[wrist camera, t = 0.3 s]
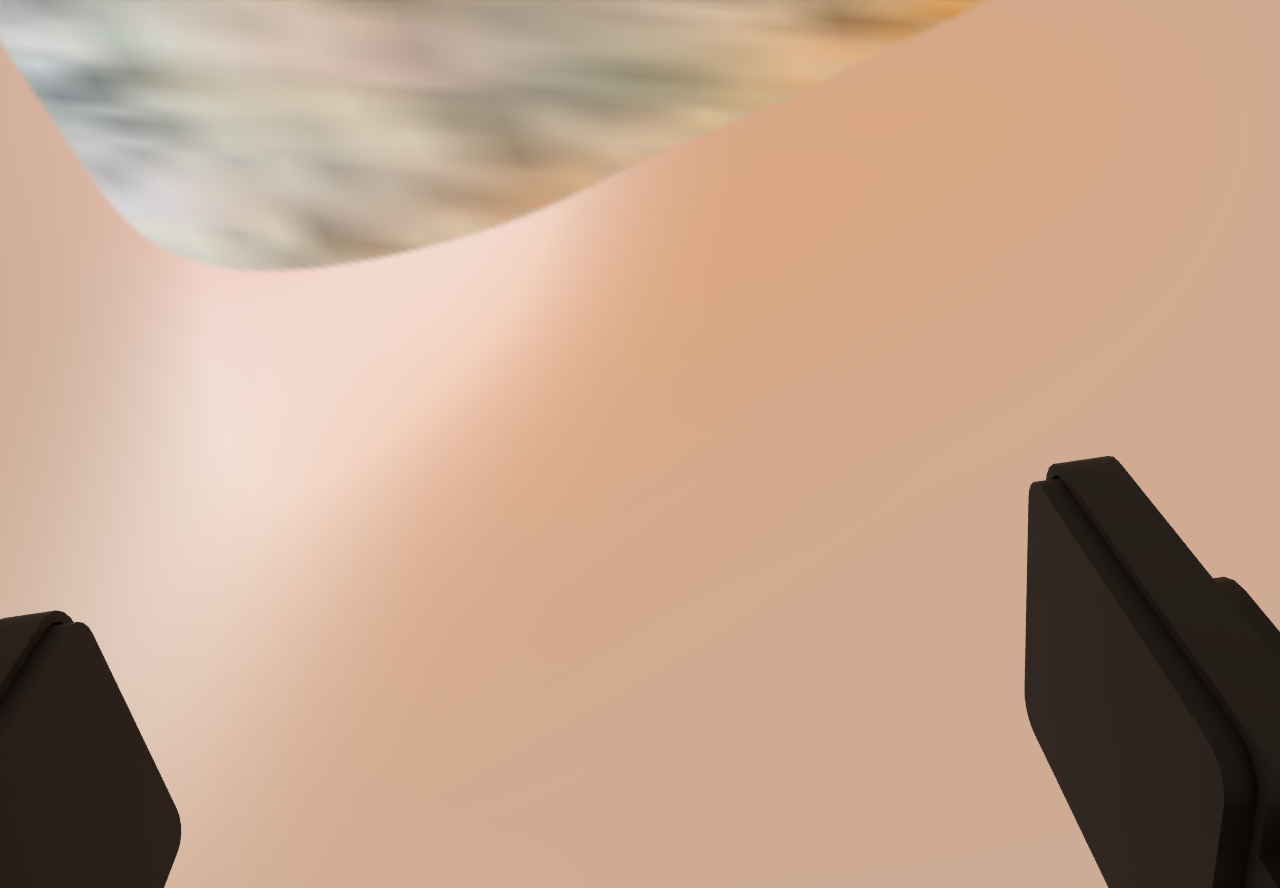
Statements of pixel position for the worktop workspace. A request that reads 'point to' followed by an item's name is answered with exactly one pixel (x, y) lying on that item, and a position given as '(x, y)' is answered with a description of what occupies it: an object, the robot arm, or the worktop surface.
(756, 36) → the worktop surface
